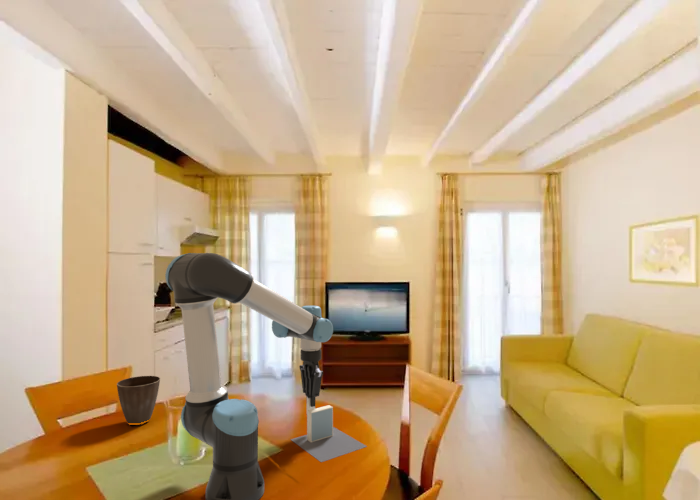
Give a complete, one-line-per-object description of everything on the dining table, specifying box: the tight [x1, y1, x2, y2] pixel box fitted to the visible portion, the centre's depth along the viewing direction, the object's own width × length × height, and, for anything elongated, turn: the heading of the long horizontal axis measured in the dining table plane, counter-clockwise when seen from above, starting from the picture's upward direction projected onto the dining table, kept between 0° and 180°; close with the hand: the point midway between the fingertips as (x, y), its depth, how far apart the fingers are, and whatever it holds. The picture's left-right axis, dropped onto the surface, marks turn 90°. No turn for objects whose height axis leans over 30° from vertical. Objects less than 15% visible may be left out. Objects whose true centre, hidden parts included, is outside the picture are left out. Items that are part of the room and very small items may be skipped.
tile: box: [306, 404, 334, 442], centre depth 144 cm, size 9×2×10 cm, turn 126°
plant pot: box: [116, 375, 161, 424], centre depth 160 cm, size 15×15×16 cm
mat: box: [290, 426, 368, 463], centre depth 140 cm, size 18×20×1 cm
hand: (310, 414), depth 149 cm, fingers closed
